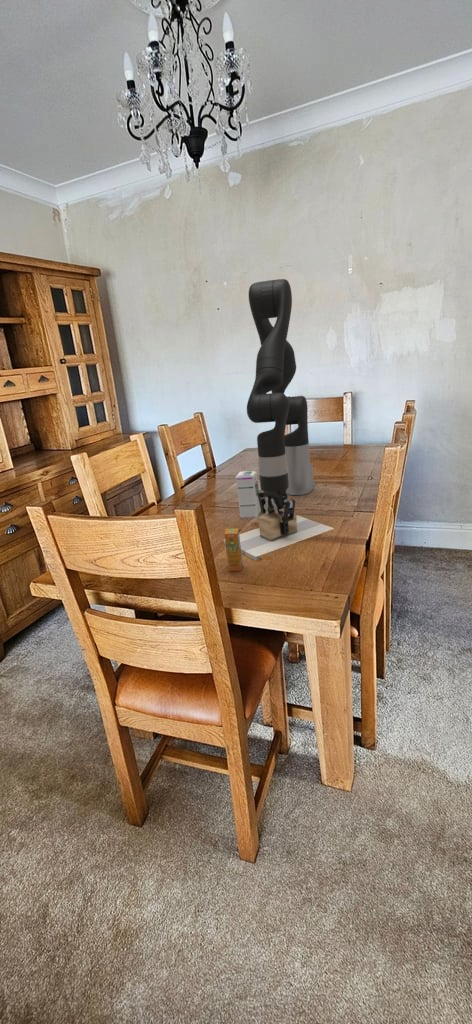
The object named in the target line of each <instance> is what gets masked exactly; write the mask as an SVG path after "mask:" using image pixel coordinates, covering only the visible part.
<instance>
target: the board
mask: <svg viewBox="0 0 472 1024" xmlns="http://www.w3.org/2000/svg"><path fill="white" fill-rule="evenodd" d="M296 519H297V532H295V533H292V534H289V535H286V536H284V537H281V538H278V539H275V540H272V541H270V540H267V539H265V538H263V537H261V536H260V531H259V527H258V528H255V529H252V530H249V531H245V532H242V533H239V535H240V545H241V554H242V555H244V556H246V557H248V558H249V559H251V560H253V561H255V562H258V561H260V560H262V557H260V556H262V555H265V554H268V553H272V552H273V551H277V550H279V549H281V548H285V547H287V546H290V545H292V544H295V543H298V542H302V541H304V540H307V539H309V538H312V537H315V536H318V535H320V534H321V535H322V534H324V533H327V532H329V531H332V530H334V527H331V526H329V525H326V524H324V523H320V522H316V521H314V520H311V519H309V518H306V517H303V516H301V515H299V514H298V515H297V514H296ZM222 541H223V545H225V546H226V544H225V538H224V539H222Z"/></svg>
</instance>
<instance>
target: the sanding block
mask: <svg viewBox="0 0 472 1024" xmlns="http://www.w3.org/2000/svg"><path fill="white" fill-rule="evenodd" d="M279 510H280V511H281V510H282V509H279ZM288 515H290V514H288ZM296 516H297V512H295V511H294V519H293V520H291V521H288V526H289V533H288V534H287V535H289V534H292V533H295V532H297V519H296ZM282 517H283V518H284V513H282ZM257 519H258V528H259V531H260V536H261V537H263V538H265V539H267V540H270V541H272V540H275V539H278V538H281V537H284V536H286V535H284V536H283V535H281V532H280V521H279V517H278V515H276V513H275V512H273V513H270V514H267V515H265V514H263V515H261V516H260V515H259V517H257Z"/></svg>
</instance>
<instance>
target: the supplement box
mask: <svg viewBox="0 0 472 1024" xmlns="http://www.w3.org/2000/svg"><path fill="white" fill-rule="evenodd" d="M239 534H240V529H239V527H238V528H237V527H236V528H225V530H224V539H225V544H226V545H225V544H224V545H225V552H226V559H227V569H228V572H241V571H242V568H243V565H244V563H243V558H242V557H243V554H242V553H241V545H240V535H239Z"/></svg>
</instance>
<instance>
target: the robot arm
mask: <svg viewBox="0 0 472 1024" xmlns="http://www.w3.org/2000/svg"><path fill="white" fill-rule="evenodd" d="M248 303H249V308H250V311H251V316H252V318H253V321H254V324H255V329H256V331H257V333H258V338H259V341H260V345H261V346H260V347H259V350H258V352H257V355H256V361H255V362H256V363H255V376H254V377H255V379H254V382H253V386H252V389H251V392H250V395H249V397H248V399H247V404H246V413H247V414H246V415H247V417H248V418H249V420H250V421H251V423H255V424H259V423H260V424H261V423H262V424H264V423H275V424H274V427H273V428H271V429H268V430H266V431H262V432H260V433H258V434H257V436H256V444H257V445H256V446H257V454H258V463H257V464H258V474H259V476H258V477H259V486H260V487H259V489H260V490H261V491H259V493H258V499H259V503H260V508H261V514H262V515H267V514H270V513H273V512H275V513H276V515H278V517H279V521H280V532H281V535H283V536H284V535H287V534H288V533H289V526H288V521H291V520H293V519H294V512H295V507H296V500H295V499H289V498H288V495H290V496H301V495H307V494H309V493H311V492H312V491H314V490H315V489H314V487H315V485H314V472H313V464H312V463H311V460H310V459H311V458H310V446H309V444H310V443H309V427H308V424H309V423H308V417H309V415H308V401H307V398H306V397H305V396H304V395H297V396H296V395H295V396H287V395H286V394H285V391H286V389H287V388H288V386H290V384H291V382H292V380H293V378H294V376H295V374H296V372H297V363H296V356H295V351H294V347H293V346H292V345H291V343H290V342H289V341H288V340H287V337H288V333H289V327H290V320H291V314H292V307H293V295H292V288H291V285H290V283H289V280H287V279H286V278H281V279H280V278H279V279H272V280H271V279H269V280H265V281H264V280H262V281H257V282H254V283H251V285H250V286H249V288H248ZM273 318H274V319H275V318H276V321H275V323H274V325H273V324H272V323H271V321H270V319H273ZM270 392H271V393H270ZM288 425H289V426H291V425H297V428H296V429H294V430H293V431H291V432H289V433H288V434H287V433H286V426H288ZM285 433H286V434H285ZM280 510H281V511H280ZM282 513H284V518H283V517H282ZM288 514H290V515H288Z"/></svg>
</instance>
